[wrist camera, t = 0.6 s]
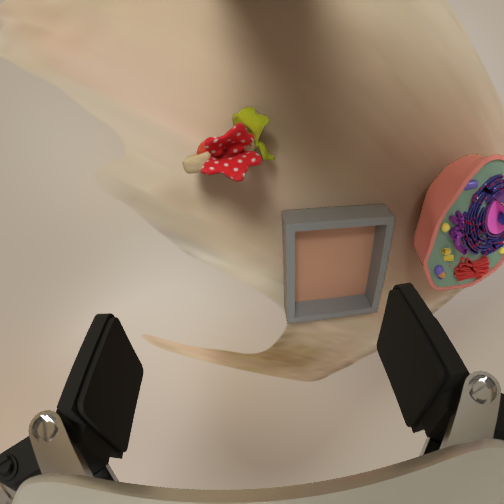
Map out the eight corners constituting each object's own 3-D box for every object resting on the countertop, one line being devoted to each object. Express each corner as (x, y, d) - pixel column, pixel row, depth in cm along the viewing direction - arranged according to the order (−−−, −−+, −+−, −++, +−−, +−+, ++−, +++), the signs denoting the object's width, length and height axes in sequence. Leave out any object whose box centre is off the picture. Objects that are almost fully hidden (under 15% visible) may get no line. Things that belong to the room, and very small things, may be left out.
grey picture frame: (281, 210, 36) (285, 224, 33) (383, 204, 36) (395, 216, 33) (284, 306, 44) (287, 323, 41) (369, 296, 44) (376, 311, 41)
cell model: (369, 211, 36) (409, 262, 27) (468, 111, 29) (529, 133, 19) (426, 277, 43) (460, 327, 33) (507, 195, 35) (553, 230, 25)
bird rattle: (225, 170, 35) (295, 150, 31) (178, 223, 27) (263, 202, 23) (202, 125, 32) (272, 96, 28) (144, 166, 24) (228, 129, 20)
